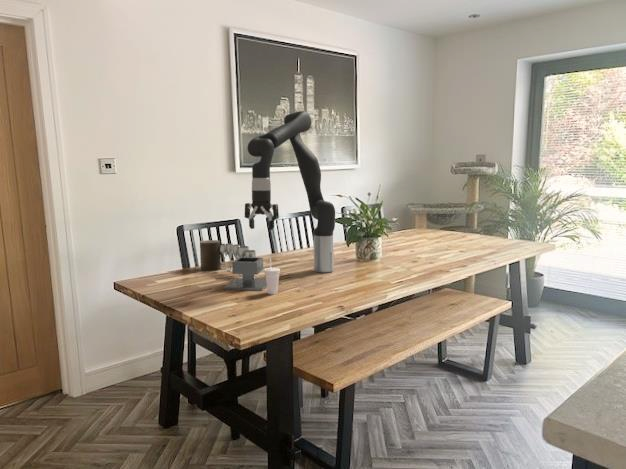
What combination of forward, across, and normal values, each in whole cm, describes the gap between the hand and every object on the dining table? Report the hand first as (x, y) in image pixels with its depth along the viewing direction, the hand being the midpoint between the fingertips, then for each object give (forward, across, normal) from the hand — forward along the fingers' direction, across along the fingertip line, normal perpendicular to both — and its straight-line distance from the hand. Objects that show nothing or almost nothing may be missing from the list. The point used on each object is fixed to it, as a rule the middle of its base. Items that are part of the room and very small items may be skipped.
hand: (261, 229), depth 198 cm
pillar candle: (+25, +40, -24) cm, 53 cm away
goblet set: (+25, +24, -22) cm, 41 cm away
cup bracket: (+25, +8, -3) cm, 26 cm away
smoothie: (+25, -7, +5) cm, 26 cm away
